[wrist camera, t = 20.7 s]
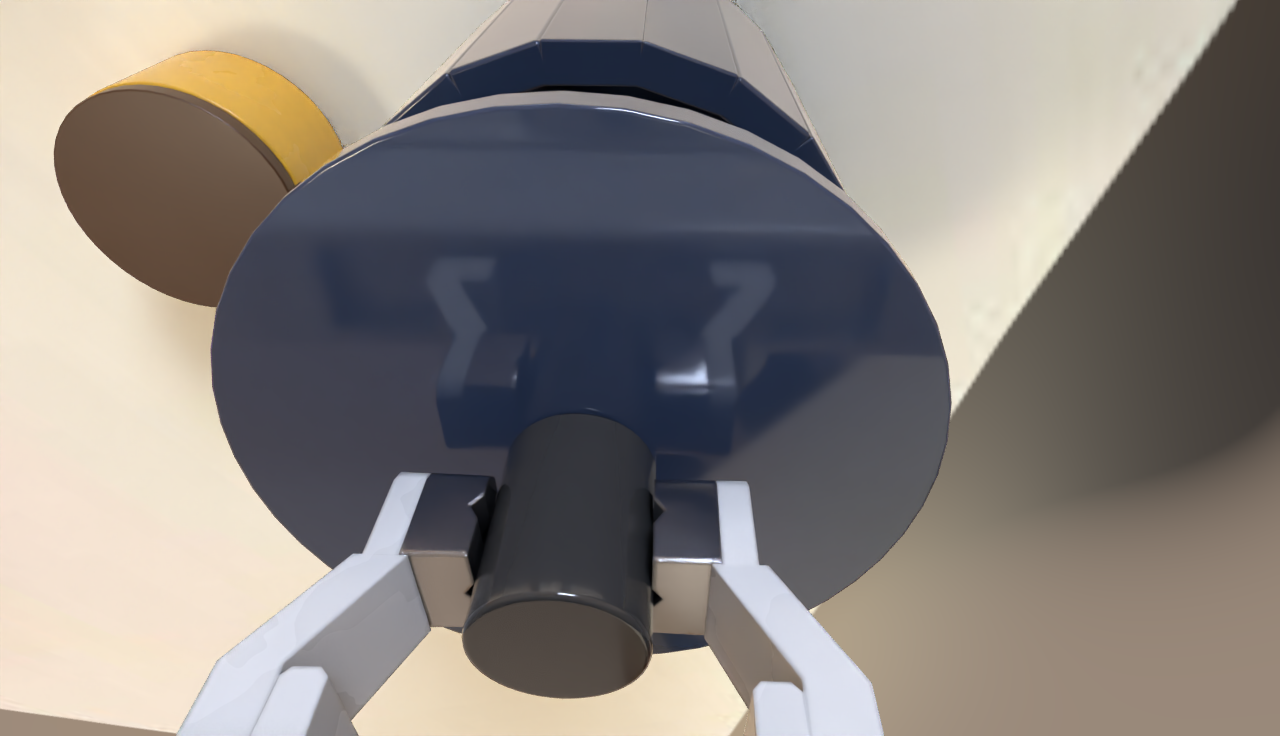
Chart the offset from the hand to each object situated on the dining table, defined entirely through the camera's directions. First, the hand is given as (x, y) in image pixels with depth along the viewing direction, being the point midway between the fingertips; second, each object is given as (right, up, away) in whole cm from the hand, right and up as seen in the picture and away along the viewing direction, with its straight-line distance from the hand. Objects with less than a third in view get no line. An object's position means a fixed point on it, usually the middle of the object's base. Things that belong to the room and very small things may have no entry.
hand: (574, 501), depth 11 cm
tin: (-12, +9, +12) cm, 20 cm away
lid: (0, +1, +1) cm, 2 cm away
